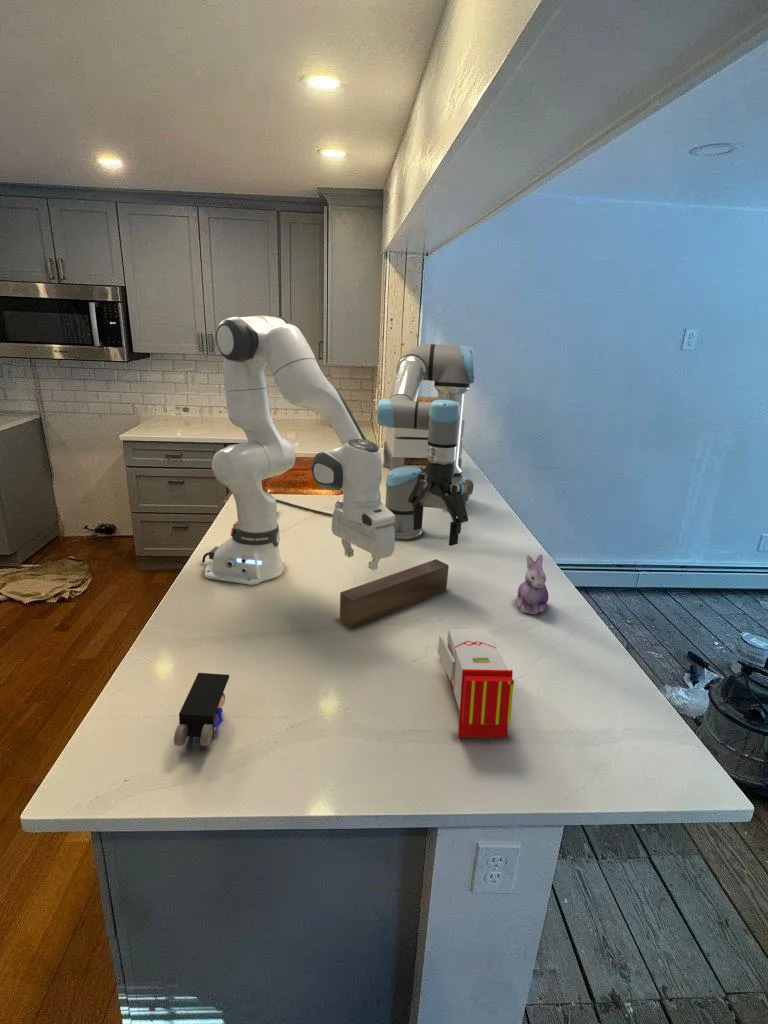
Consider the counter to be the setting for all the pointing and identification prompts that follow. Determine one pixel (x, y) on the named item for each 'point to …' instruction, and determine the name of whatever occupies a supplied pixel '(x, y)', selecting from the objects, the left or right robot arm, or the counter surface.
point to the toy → (478, 682)
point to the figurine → (533, 588)
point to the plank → (392, 593)
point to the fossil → (467, 490)
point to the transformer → (410, 445)
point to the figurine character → (201, 710)
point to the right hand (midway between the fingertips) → (434, 536)
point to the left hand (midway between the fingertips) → (360, 562)
